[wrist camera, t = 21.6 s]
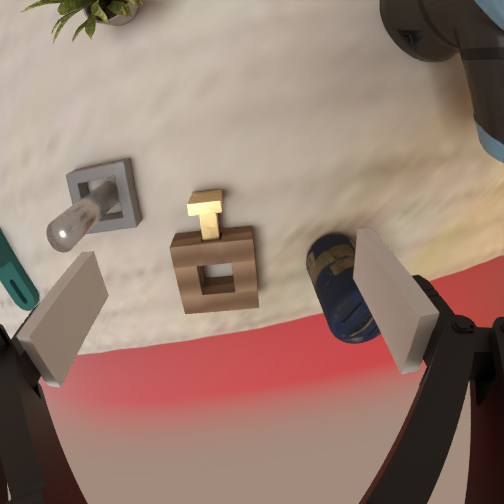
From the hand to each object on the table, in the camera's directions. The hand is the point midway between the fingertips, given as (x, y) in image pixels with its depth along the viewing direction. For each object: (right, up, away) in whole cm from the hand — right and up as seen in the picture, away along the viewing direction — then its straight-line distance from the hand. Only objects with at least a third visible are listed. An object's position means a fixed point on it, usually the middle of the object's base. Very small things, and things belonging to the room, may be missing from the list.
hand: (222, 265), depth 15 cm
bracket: (-48, -3, +35) cm, 59 cm away
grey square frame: (-21, +10, +30) cm, 38 cm away
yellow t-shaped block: (-5, +5, +33) cm, 33 cm away
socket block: (-4, -1, +36) cm, 37 cm away
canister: (+15, 0, +37) cm, 40 cm away
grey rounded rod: (-21, +10, +30) cm, 38 cm away
